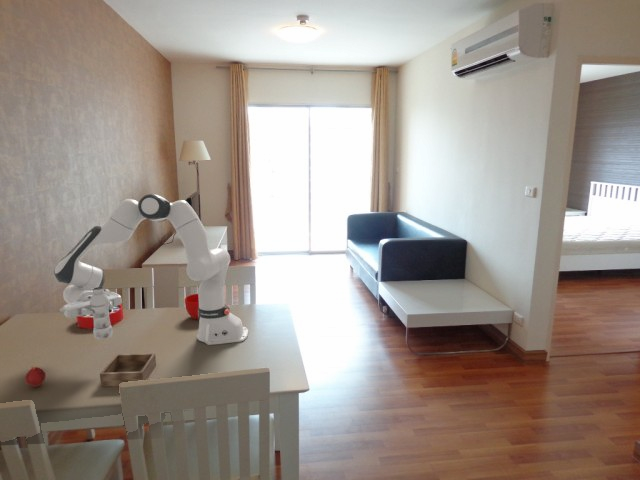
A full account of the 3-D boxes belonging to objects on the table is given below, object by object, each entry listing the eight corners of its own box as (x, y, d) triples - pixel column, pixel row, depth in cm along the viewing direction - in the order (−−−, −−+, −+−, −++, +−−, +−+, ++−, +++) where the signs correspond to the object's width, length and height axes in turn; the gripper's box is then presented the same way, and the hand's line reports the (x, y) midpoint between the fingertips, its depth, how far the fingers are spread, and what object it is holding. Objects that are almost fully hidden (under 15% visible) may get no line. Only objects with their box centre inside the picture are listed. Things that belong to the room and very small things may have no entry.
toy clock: (100, 300, 219) (131, 305, 213) (101, 311, 220) (132, 316, 214) (66, 314, 201) (98, 319, 194) (67, 325, 202) (100, 331, 195)
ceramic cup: (222, 311, 219) (221, 293, 217) (200, 323, 204) (199, 304, 202) (202, 307, 224) (201, 289, 222) (180, 319, 209) (178, 300, 207)
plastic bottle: (106, 342, 160) (100, 292, 155) (90, 340, 161) (83, 290, 156) (117, 335, 166) (111, 286, 161) (101, 333, 167) (95, 285, 163)
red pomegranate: (33, 382, 152) (30, 362, 151) (50, 381, 153) (47, 361, 151) (23, 391, 147) (20, 370, 145) (41, 390, 147) (37, 369, 145)
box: (156, 365, 165) (155, 353, 164) (143, 385, 151) (142, 372, 150) (117, 366, 164) (116, 354, 163) (101, 386, 150) (99, 374, 148)
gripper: (56, 301, 161) (70, 309, 152) (111, 287, 176) (127, 295, 167) (59, 316, 162) (72, 326, 153) (113, 302, 177) (128, 310, 168)
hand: (101, 310), depth 160 cm, fingers closed on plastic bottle, 6 cm apart
